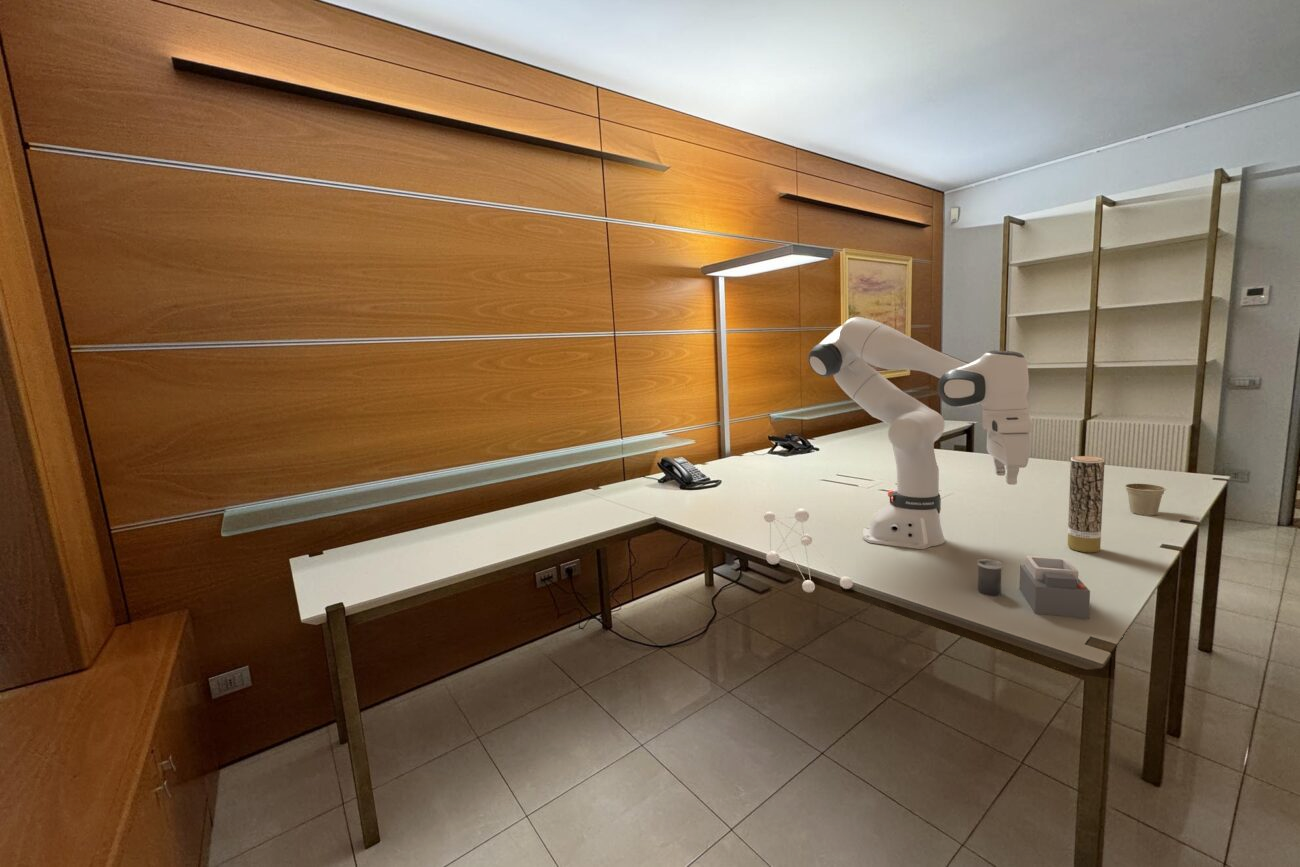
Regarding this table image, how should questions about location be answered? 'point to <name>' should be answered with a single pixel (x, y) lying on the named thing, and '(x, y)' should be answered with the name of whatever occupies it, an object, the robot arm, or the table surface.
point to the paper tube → (1085, 503)
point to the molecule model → (806, 540)
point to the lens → (989, 577)
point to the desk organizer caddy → (1054, 587)
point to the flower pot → (1144, 498)
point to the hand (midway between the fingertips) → (1005, 479)
